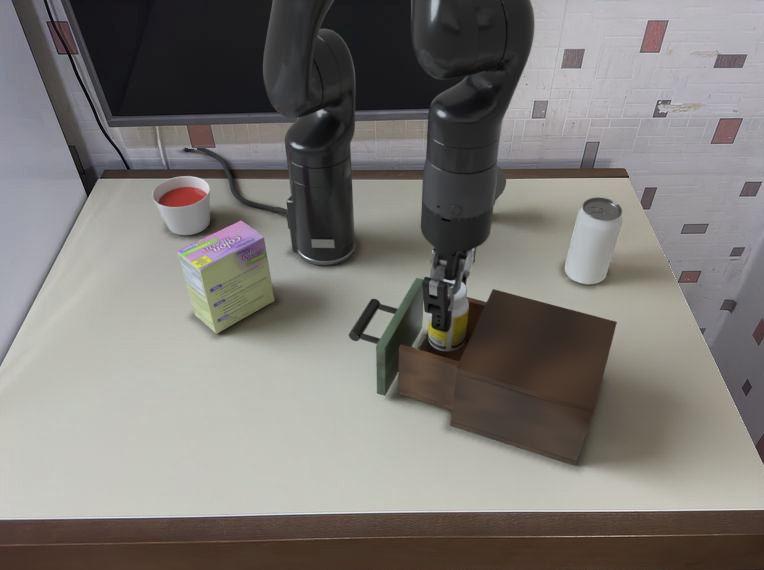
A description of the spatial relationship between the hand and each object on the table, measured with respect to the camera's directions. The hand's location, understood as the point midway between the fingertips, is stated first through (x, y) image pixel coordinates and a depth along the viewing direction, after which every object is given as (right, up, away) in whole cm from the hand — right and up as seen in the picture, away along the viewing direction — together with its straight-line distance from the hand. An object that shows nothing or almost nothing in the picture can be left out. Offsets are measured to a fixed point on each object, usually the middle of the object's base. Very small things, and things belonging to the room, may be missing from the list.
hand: (447, 314), depth 82 cm
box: (-30, +2, +17) cm, 35 cm away
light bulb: (+8, +18, +34) cm, 39 cm away
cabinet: (+10, -11, +5) cm, 16 cm away
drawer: (-2, -7, +8) cm, 11 cm away
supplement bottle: (0, -3, +3) cm, 5 cm away
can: (+23, +8, +24) cm, 34 cm away
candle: (-41, +17, +31) cm, 54 cm away
